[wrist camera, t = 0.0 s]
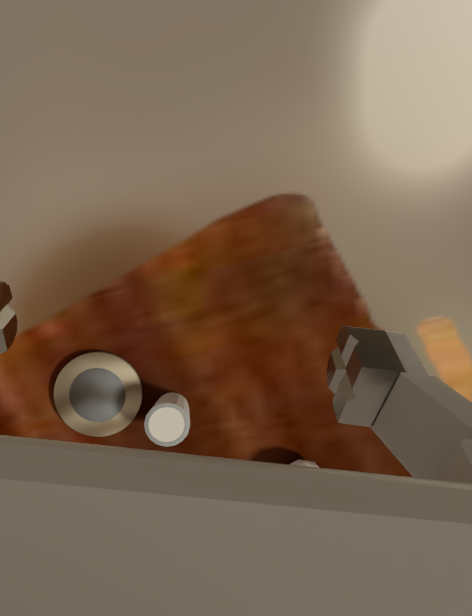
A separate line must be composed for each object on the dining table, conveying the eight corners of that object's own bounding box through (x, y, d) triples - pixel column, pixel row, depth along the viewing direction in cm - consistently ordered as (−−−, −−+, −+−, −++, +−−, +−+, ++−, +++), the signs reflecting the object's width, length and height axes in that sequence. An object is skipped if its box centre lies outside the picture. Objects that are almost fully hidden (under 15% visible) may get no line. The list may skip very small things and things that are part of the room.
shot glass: (150, 427, 66) (143, 446, 59) (152, 388, 65) (144, 402, 58) (191, 428, 66) (189, 447, 59) (193, 389, 65) (190, 403, 58)
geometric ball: (286, 459, 70) (279, 453, 64) (331, 467, 68) (329, 462, 61) (280, 505, 67) (272, 504, 60) (327, 515, 65) (325, 516, 58)
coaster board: (155, 415, 65) (154, 418, 64) (77, 445, 65) (74, 449, 64) (122, 338, 64) (121, 340, 63) (42, 369, 64) (39, 371, 62)
